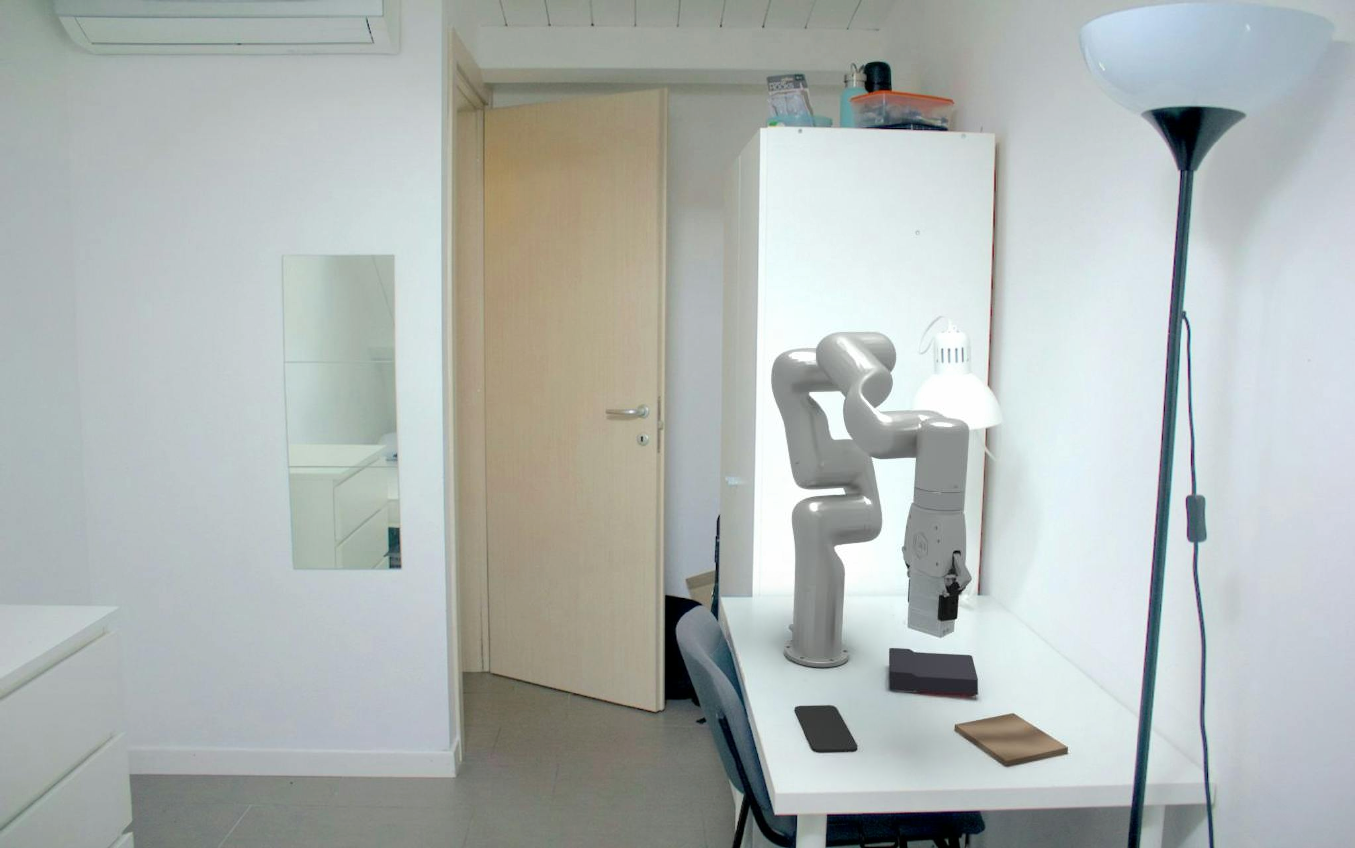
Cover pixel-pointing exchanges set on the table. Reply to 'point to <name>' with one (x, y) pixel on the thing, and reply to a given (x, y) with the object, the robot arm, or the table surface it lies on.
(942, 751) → the table surface
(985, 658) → the table surface
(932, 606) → the skincare box
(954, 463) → the robot arm
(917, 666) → the dark gray stepped block
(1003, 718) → the walnut pad
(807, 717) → the phone
